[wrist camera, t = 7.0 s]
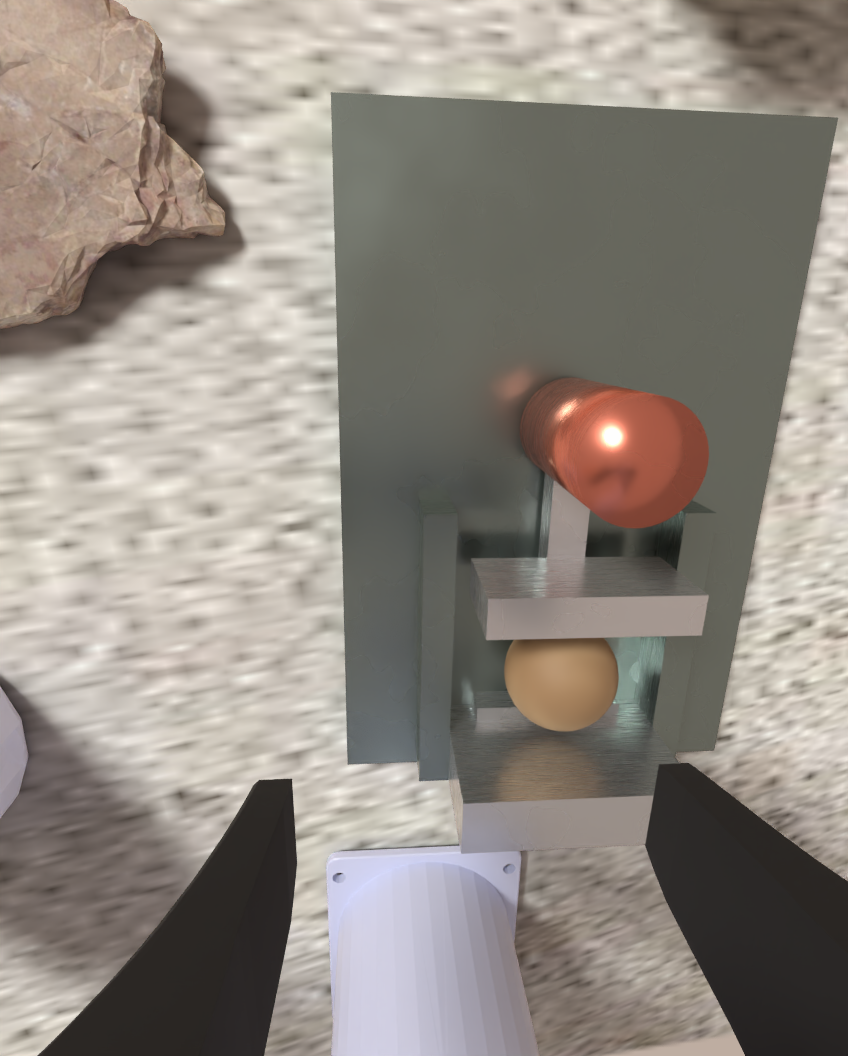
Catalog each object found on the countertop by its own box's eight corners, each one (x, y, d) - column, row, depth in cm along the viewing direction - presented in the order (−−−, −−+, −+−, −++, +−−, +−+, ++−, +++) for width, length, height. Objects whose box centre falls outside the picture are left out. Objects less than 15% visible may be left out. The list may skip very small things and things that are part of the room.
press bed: (698, 731, 24) (796, 852, 19) (348, 743, 23) (340, 876, 18) (808, 131, 18) (1009, 38, 12) (333, 108, 17) (312, -7, 11)
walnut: (589, 688, 22) (629, 754, 19) (492, 691, 22) (514, 758, 18) (600, 597, 21) (645, 649, 17) (497, 599, 21) (522, 652, 17)
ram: (640, 584, 20) (731, 670, 15) (464, 587, 20) (496, 677, 15) (668, 378, 18) (784, 396, 13) (473, 375, 18) (514, 393, 13)
